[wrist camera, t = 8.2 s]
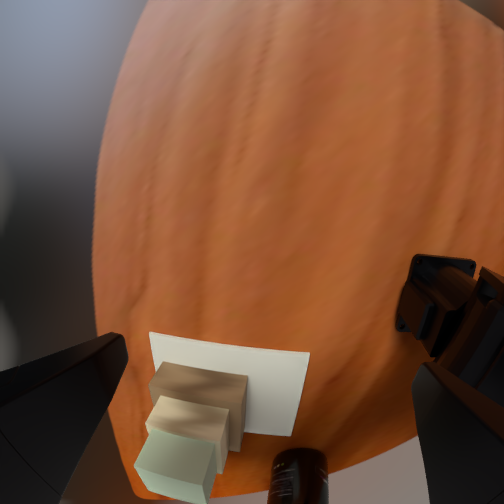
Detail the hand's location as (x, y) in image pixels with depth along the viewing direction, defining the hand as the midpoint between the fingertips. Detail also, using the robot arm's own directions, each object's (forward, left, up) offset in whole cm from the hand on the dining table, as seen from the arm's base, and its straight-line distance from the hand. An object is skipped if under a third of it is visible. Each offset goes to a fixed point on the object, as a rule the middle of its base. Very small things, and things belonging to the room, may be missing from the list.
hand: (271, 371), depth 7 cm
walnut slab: (+6, +16, -13) cm, 21 cm away
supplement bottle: (-5, +27, -13) cm, 30 cm away
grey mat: (+4, +15, -13) cm, 20 cm away
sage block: (+6, +16, -6) cm, 18 cm away
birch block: (+6, +16, -9) cm, 19 cm away
